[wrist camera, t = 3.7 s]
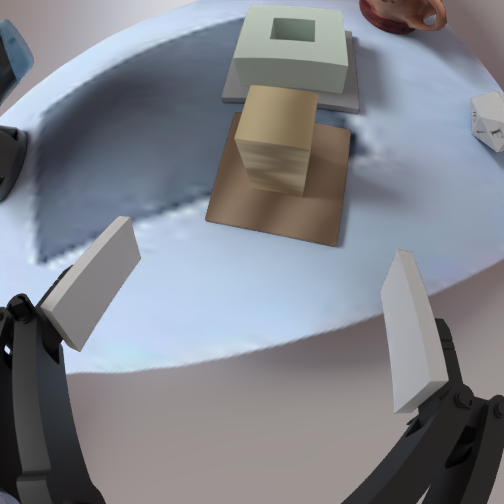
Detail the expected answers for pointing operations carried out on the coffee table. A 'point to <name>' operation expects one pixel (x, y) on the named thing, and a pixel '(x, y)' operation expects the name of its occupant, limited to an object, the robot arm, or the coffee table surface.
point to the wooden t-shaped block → (282, 169)
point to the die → (489, 119)
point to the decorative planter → (403, 14)
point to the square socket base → (295, 56)
